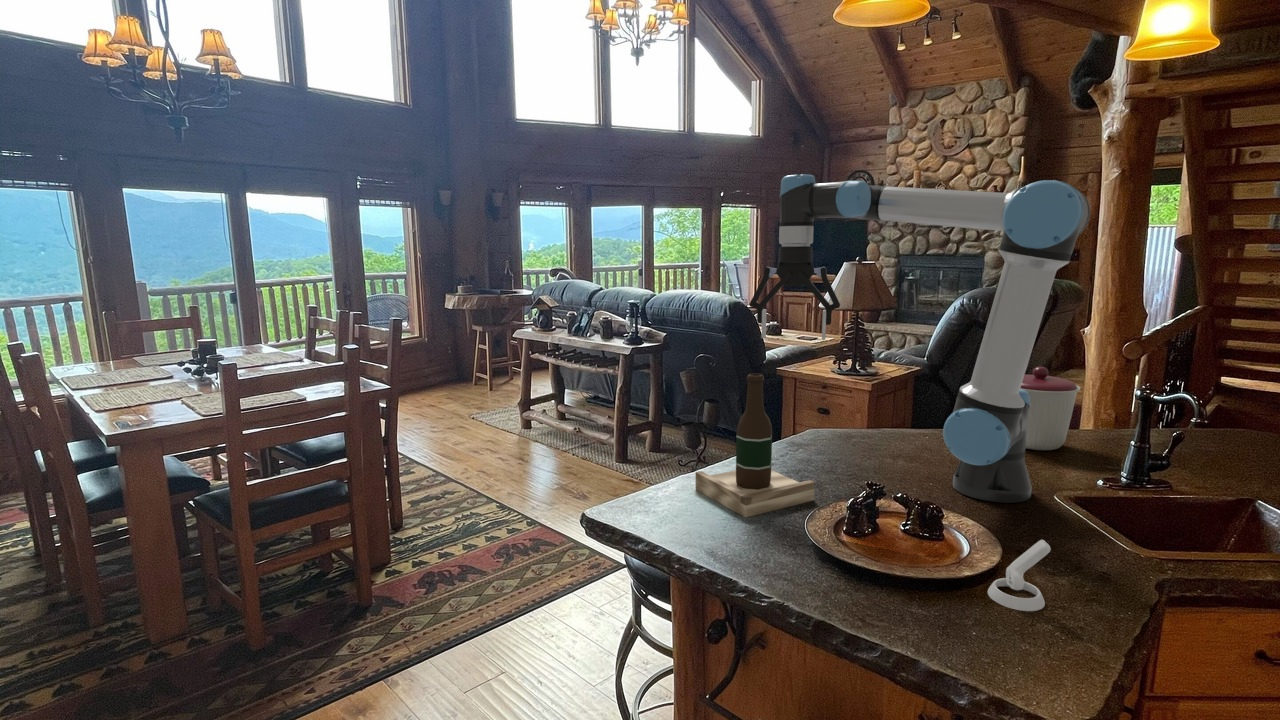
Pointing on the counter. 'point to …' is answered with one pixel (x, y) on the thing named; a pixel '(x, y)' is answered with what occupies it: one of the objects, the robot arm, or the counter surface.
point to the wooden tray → (754, 493)
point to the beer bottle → (754, 439)
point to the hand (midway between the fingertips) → (793, 338)
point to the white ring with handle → (1021, 581)
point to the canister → (1048, 409)
